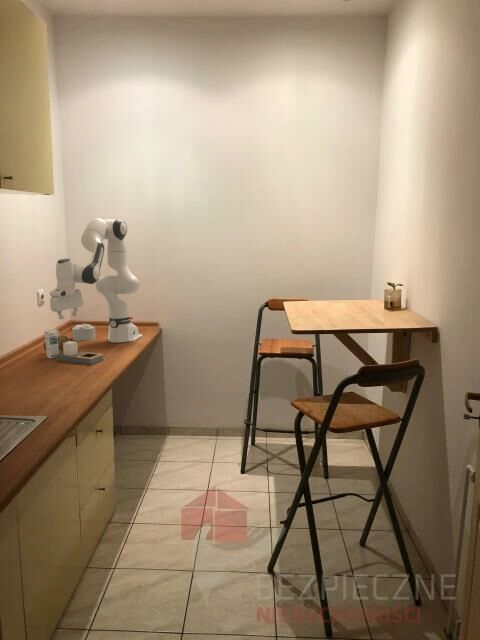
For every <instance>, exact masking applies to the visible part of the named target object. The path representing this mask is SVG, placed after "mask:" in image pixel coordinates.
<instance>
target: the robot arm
mask: <svg viewBox="0 0 480 640" xmlns="http://www.w3.org/2000/svg"><path fill="white" fill-rule="evenodd" d="M127 233H128V225H127V223H126V222H125V221H124V220H123V219H119V218H118V219H111V218H110V219H102V218H98V217H95V218H93V219H91V220H90V221H89V223H88V224H87V225H86V227H85V229H84V231H83V232H82V234H81V238H80V243H81V245H82V247H83V248H84V249H86V250H87V251H88V252H89V253H90V252H91V253H92V256H91V260H90V262H89V263H87V264H78V263H75V262H74V261H73V259H71V258H61V259H58V260H57V261H56V266H55V277H56V280H57V282H56V288H55V289H53V290H51V291H50V292H49V296H50V299H49V307H50V310H51V312H56V314H57V315H58V318H59V320H64V319H65V316H64V315H63V314H62V313H63V311H65V310H70V309H73V310H72V311H73V312H72V313H71V316H72V317H77V314H78V310H79V308H81V307H83V305H84V299H83V295H82V291H81V290H80V289H78V288H76V283H77V284H78V283H79V284H87V285H94V284H95V289H96V291H97V292H98V293H100V294H101V295H102V296H103V297H104V298H105V300H106V302H107V305H108V311H109V318H108V322H109V325H108V337H107V340H108V342H110V343H127V342H129V343H131V342H135V341H137V340H138V339H140V338H142V337H143V334H141V333H139V328H138V326H136V325H135V324H134V323H132V321H131V320H133V319H134V317H133V315H132V316H131V315H130V316H129V313H130V312H129V305H128V302H127V301H126V300H124V299H121V298H120V296H119V295H130V294H135V293H137V292H138V291H139V289H140V281H139V279H138V277H136V276H135V275H134V274H133V273H132V272H131V269H130V268H129V265H128V260H127V259H128V258H127V254H128V253H127V252H128V251H127V250H128V249H127V244H126V243H127V242H126V238H125V237H126V235H127ZM104 240H107V249H106V250H107V251H106V252H107V253H106V255H107V257H106V259H107V265H108V267H110V269H112V270H115V271H116V273H117V274H116V275H102V276H101V275H100V274H101V273H100V272H101V267H102V262H103V258H104V256H105V255H104V253H105V244H104V243H103V242H104Z"/></svg>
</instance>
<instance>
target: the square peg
mask: <svg viewBox="0 0 480 640" xmlns="http://www.w3.org/2000/svg"><path fill="white" fill-rule="evenodd" d="M78 348H79V347H78V341H73V340H72V341H71V340H69V341H68V342H65V343H63V350H64V351H63V353H64V355H68V356H73V355H76V354H78V352H79V350H78Z"/></svg>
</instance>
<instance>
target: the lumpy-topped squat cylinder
mask: <svg viewBox="0 0 480 640" xmlns="http://www.w3.org/2000/svg"><path fill="white" fill-rule="evenodd" d="M71 330H72V331H71V333H72V341H73V342H82V341H83V342H84V341H85V342H86V341H92V340H95V339H96V327H95V326H93V325H91V324H88V323H82V324H76V325H75V326H73V327H72V328H71Z"/></svg>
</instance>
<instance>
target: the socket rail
mask: <svg viewBox="0 0 480 640" xmlns="http://www.w3.org/2000/svg"><path fill="white" fill-rule="evenodd" d="M104 360H105V359H104V353H97V352H89V351H88V352H85V351H78V354H76V355H73V356H68V355H64V352H61V354H58V355H57V358H56V361H58V362H64V363H65V362H66V363H73V364H81V365H88V366H91V365H95V364H97V363H101V362H103V361H104Z"/></svg>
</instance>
